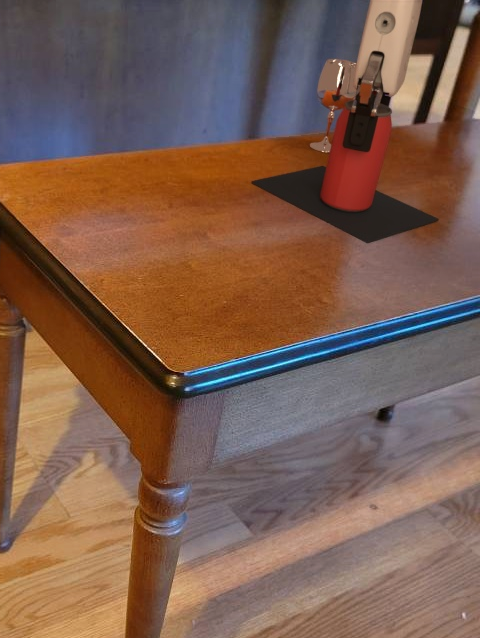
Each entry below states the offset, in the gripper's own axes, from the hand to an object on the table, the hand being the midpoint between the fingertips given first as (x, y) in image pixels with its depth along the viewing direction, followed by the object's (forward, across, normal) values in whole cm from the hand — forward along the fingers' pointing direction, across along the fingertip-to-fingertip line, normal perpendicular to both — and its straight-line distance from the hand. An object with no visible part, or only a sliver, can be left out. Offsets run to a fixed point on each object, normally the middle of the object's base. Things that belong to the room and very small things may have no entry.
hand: (363, 138), depth 89 cm
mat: (+9, +1, +1) cm, 9 cm away
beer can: (+8, 0, 0) cm, 9 cm away
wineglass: (+9, +21, +8) cm, 24 cm away
